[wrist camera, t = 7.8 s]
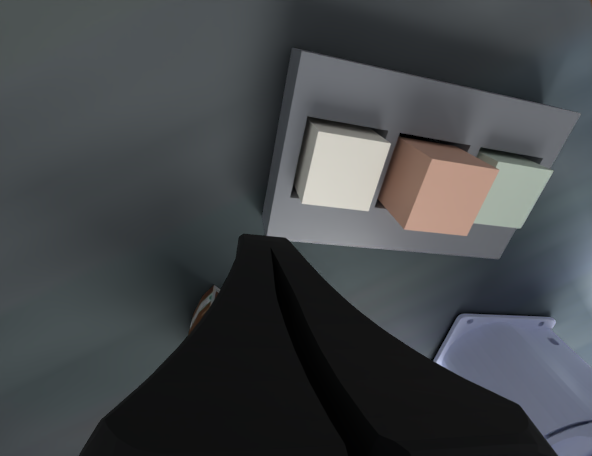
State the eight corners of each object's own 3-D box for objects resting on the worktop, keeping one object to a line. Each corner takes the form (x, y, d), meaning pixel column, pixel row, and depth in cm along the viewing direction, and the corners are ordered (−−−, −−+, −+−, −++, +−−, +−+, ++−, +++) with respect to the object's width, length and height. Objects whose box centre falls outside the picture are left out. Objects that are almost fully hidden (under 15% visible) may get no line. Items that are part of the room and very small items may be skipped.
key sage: (507, 149, 21) (553, 170, 18) (481, 201, 23) (520, 228, 20) (458, 141, 20) (498, 161, 17) (435, 195, 22) (468, 222, 19)
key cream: (364, 124, 19) (391, 143, 16) (347, 183, 20) (368, 211, 17) (303, 113, 18) (318, 131, 15) (289, 175, 19) (301, 203, 16)
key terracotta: (455, 146, 19) (499, 169, 16) (431, 204, 20) (466, 236, 17) (397, 136, 18) (432, 158, 15) (376, 197, 19) (404, 229, 16)
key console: (543, 104, 20) (581, 113, 18) (475, 238, 24) (499, 259, 22) (291, 47, 17) (301, 51, 14) (261, 216, 21) (266, 238, 19)
